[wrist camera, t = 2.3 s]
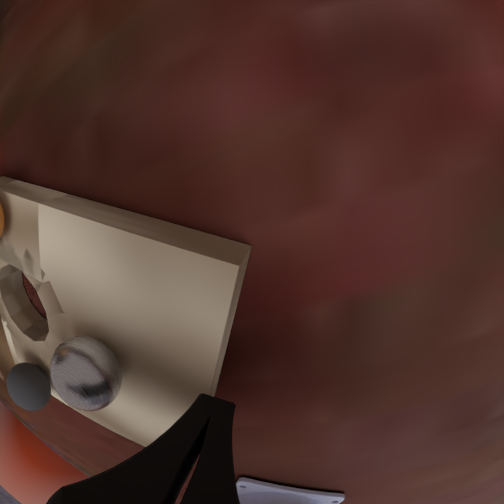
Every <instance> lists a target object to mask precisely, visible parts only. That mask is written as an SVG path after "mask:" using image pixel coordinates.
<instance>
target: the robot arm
mask: <svg viewBox="0 0 504 504" xmlns="http://www.w3.org/2000/svg"><path fill="white" fill-rule="evenodd" d="M234 410H235V404H234V403H231V402H228V401H225V400H222V399H219V398H216V397H213V396H210V395H207V394H204V393H201V394H199V396H198V397H197V399H196V400H195V401H194V402H193V404H192V405H191V406H190V407H189V409H188V410H187V411H186V412H185V413H184V414H183V415H182V416H181V417H180V418H179V419H178V420H177V421H176V422H175V423H174V424H173V425H172V426H171V427H170V428H169V429H168V430H167V431H166V432H164V433H163V434H162V435H161V436H159V437H158V438H157V439H156V440H155V441H153V442H152V443H151V444H150V445H148V446H147V447H145V448H144V449H143V450H141V451H140V452H138V453H137V454H135V455H134V456H132V457H130V458H129V459H127V460H125V461H124V462H122V463H120V464H118V465H116V466H115V467H113V468H111V469H109V470H106V471H104V472H102V473H100V474H97V475H95V476H93V477H90V478H88V479H85V480H82V481H79V482H76V483H73V484H70V485H66V486H63V487H61V488H60V489H59V490H58V491H56V492H55V493H54V494H53V495H52V497H50V499H49V500H48V502H47V503H46V504H175V502H176V499H177V497H178V494H179V492H180V490H181V488H182V486H183V484H184V483H185V481H186V479H187V477H188V475H189V473H190V471H191V469H192V467H193V465H194V464H195V462H196V460H197V458H198V456H199V454H200V456H199V459H198V462H197V465H196V468H195V470H194V473H193V475H192V477H191V480H190V482H189V484H188V487H187V489H186V491H185V494H184V496H183V498H182V500H181V503H180V504H339V503H340V502H342V501H343V500H344V499H345V495H344V494H341V493H330V492H321V491H313V490H306V489H299V488H293V487H287V486H282V485H276V484H272V483H267V482H262V481H258V480H253V479H249V478H239V479H238V481H237V483H236V481H235V475H234V466H233V455H232V425H233V416H234ZM200 452H201V453H200ZM0 504H21V503H20V502H19V501H17V500H16V499H15V498H14V497H13V496H12V495H10V494H9V493H8V492H7V491H6V490H5V489H4V488H3V487H1V486H0Z"/></svg>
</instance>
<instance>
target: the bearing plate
mask: <svg viewBox="0 0 504 504" xmlns="http://www.w3.org/2000/svg"><path fill="white" fill-rule="evenodd" d="M0 203H1V205H2V208H3V212H4V228H3V232H2V235H1V237H0V377H1V378H2V379H3V380H5V379H6V378H7V377H8V373H9V371H10V370H11V369H12V368H13V366H15V365H16V364H19V363H23V362H27V363H32V364H34V365H36V366H38V367H39V368H40V369H41V370H42V371H43V372H44V373H45V374H46V376H47V377H48V380H49V382H50V386H51V395H53V396H54V397H56V398H57V399H59V400H60V401H62V402H63V403H65V404H66V405H68V406H70V407H71V408H73V409H74V410H76V411H78V412H79V413H81V414H83V415H84V416H86V417H88V418H90V419H91V420H93V421H95V422H97V423H98V424H100V425H102V426H104V427H106V428H108V429H110V430H112V431H114V432H115V433H117V434H119V435H121V436H123V437H126V438H128V439H130V440H132V441H134V442H136V443H138V444H140V445H143V446H145V447H147V446H148V445H150V444H151V443H152V442H153V441H155V440H156V439H157V438H158V437H159V436H161V435H162V434H163V433H164V432H166V431H167V430H168V429H169V428H170V427H171V426H172V425H173V424H174V423H175V422H176V421H177V420H178V419H179V418H180V417H181V416H182V415H183V414H184V413H185V412H186V411H187V410H188V409H189V407H190V406H191V405H192V404H193V402H194V401H195V400H196V399H197V397H198V396H199V394H201V393H204V394H207V395H210V396H213V397H215V393H216V389H217V385H218V381H219V376H220V372H221V368H222V364H223V360H224V356H225V352H226V348H227V344H228V340H229V336H230V332H231V328H232V324H233V320H234V316H235V312H236V308H237V304H238V299H239V295H240V291H241V287H242V283H243V279H244V275H245V271H246V267H247V263H248V259H249V255H250V251H251V247H252V246H250V245H247V244H244V243H240V242H237V241H233V240H230V239H226V238H223V237H219V236H216V235H212V234H209V233H205V232H202V231H198V230H195V229H191V228H188V227H184V226H180V225H177V224H173V223H170V222H166V221H163V220H159V219H156V218H152V217H149V216H145V215H142V214H138V213H134V212H131V211H127V210H124V209H120V208H117V207H113V206H109V205H106V204H102V203H99V202H95V201H92V200H88V199H84V198H81V197H77V196H74V195H70V194H66V193H63V192H59V191H56V190H52V189H48V188H45V187H41V186H37V185H34V184H30V183H26V182H23V181H19V180H15V179H12V178H8V177H4V176H2V177H0ZM22 272H23V273H24V275H25V276H26V277H27V279H28V280H29V281H30V282H31V284H32V285H33V286H34V288H35V289H36V291H37V293H38V296H39V298H40V300H41V302H42V304H43V306H44V309H45V311H46V315H47V320H46V319H45V318H43V317H42V316H41V315H40V313H39V312H38V311H37V310H36V309H35V307H34V306H33V305H32V304H31V302H30V299H29V297H28V295H27V293H26V290H25V288H24V286H23V278H22ZM75 336H88V337H92V338H95V339H98V340H99V341H101V342H103V343H104V344H106V345H107V346H108V347H109V348H110V349H111V350H112V351H113V353H114V354H115V356H116V357H117V359H118V361H119V364H120V367H121V371H122V384H121V389H120V391H119V394H118V395H117V397H116V399H115V400H114V401H113V402H112V403H111V404H110V405H108V406H107V407H105V408H103V409H100V410H96V411H84V410H79V409H77V408H74V407H72V406H71V405H69V404H67V403H66V402H65V401H64V400H63V399H62V398H61V397H60V396H59V395H58V393H57V392H56V390H55V389H54V387H53V384H52V381H51V377H50V361H51V358H52V355H53V353H54V351H55V350H56V348H57V347H58V346H59V345H60V344H61V343H62V342H63V341H65V340H67V339H69V338H71V337H75ZM193 466H194V465H193Z"/></svg>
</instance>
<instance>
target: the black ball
mask: <svg viewBox="0 0 504 504" xmlns="http://www.w3.org/2000/svg"><path fill="white" fill-rule="evenodd" d="M7 388H8V392H9V394H10V396H11V398H12V399H13V401H14V402H15V403H16V404H17V405H18V406H20V407H21V408H23V409H25V410H29V411H36V410H40V409H42V408H43V407H44V406H45V405H46V404H47V403H48V401H49V399H50V395H51V386H50V382H49V380H48V377H47V376H46V374H45V373H44V372H43V371H42V370H41V369H40V368H39V367H38V366H36V365H34V364H32V363H27V362H23V363H19V364H16V365H15V366H13V368H12V369H11V370H10V371H9V373H8V377H7Z"/></svg>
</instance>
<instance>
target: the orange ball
mask: <svg viewBox="0 0 504 504" xmlns="http://www.w3.org/2000/svg"><path fill="white" fill-rule="evenodd" d="M3 228H4V212H3V208H2V205H1V203H0V237H1V235H2V232H3Z"/></svg>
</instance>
